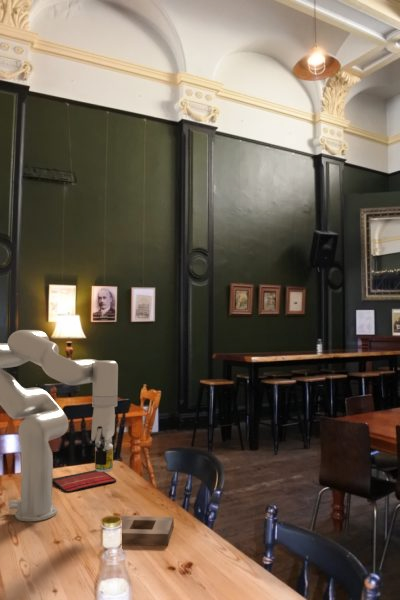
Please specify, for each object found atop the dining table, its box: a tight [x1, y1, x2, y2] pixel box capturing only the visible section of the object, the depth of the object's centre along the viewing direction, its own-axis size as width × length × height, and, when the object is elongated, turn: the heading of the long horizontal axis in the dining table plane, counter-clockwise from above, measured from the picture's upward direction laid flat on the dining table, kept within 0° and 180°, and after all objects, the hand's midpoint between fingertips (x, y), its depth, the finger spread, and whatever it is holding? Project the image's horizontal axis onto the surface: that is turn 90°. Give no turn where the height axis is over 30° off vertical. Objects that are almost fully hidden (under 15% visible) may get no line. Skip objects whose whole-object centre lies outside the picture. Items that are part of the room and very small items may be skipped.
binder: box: [52, 469, 117, 494], centre depth 185 cm, size 16×2×21 cm
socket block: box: [119, 515, 175, 546], centre depth 136 cm, size 16×12×3 cm
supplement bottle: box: [94, 438, 114, 473], centre depth 145 cm, size 5×5×10 cm
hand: (103, 461), depth 145 cm, fingers closed on supplement bottle, 5 cm apart
